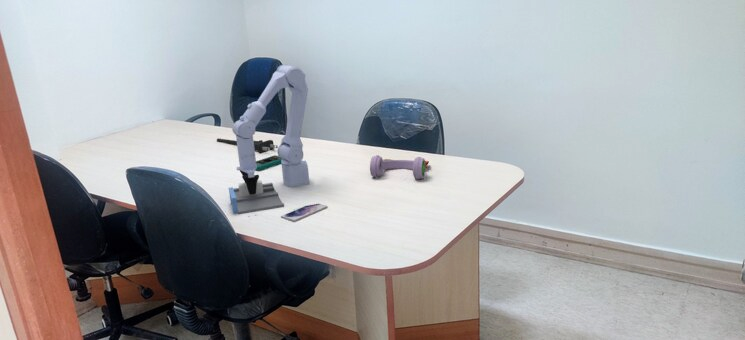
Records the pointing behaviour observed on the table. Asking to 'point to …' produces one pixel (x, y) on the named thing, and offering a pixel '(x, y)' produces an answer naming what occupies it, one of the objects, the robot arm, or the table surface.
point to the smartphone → (303, 212)
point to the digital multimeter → (268, 163)
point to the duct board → (254, 200)
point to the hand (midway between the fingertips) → (251, 190)
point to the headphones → (398, 166)
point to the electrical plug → (255, 145)
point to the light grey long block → (259, 189)
